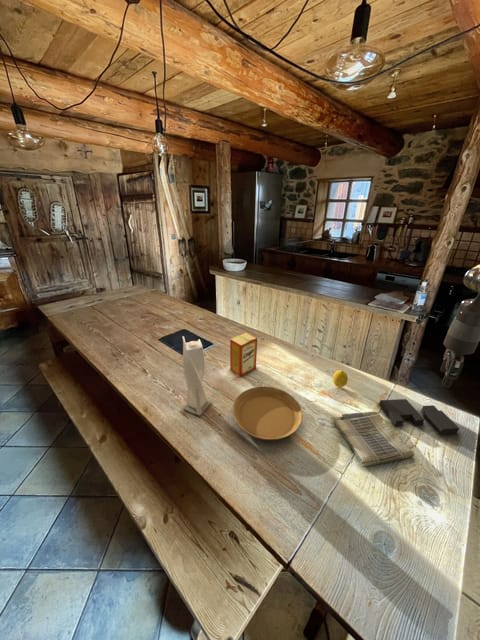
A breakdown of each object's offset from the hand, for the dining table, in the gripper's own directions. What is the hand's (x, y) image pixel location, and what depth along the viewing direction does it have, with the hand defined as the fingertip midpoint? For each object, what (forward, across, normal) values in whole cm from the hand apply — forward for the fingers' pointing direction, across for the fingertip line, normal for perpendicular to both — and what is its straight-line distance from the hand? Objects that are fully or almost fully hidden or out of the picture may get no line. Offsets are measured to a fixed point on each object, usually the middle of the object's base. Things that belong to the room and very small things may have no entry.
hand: (444, 378), depth 85 cm
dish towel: (+18, -19, +16) cm, 31 cm away
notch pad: (+18, -2, +8) cm, 20 cm away
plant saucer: (+18, -29, +48) cm, 59 cm away
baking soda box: (+18, -10, +70) cm, 73 cm away
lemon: (+18, +1, +30) cm, 36 cm away
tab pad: (+18, +1, -3) cm, 18 cm away
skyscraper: (+18, -38, +72) cm, 84 cm away
